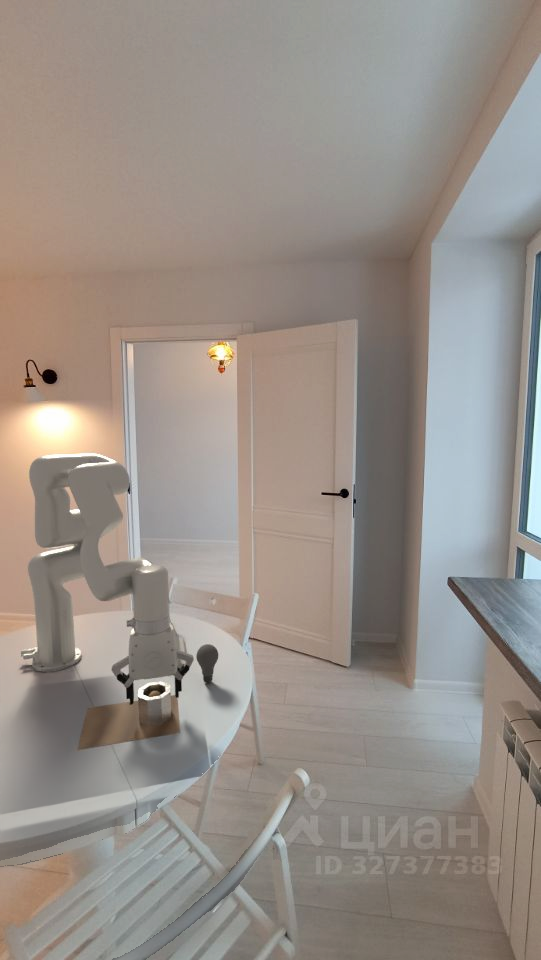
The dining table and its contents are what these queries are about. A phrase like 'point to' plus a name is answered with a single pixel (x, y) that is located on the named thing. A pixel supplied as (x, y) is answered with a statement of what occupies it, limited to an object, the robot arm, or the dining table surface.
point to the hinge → (179, 647)
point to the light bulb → (207, 661)
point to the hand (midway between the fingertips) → (154, 697)
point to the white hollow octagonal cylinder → (154, 704)
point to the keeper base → (123, 724)
